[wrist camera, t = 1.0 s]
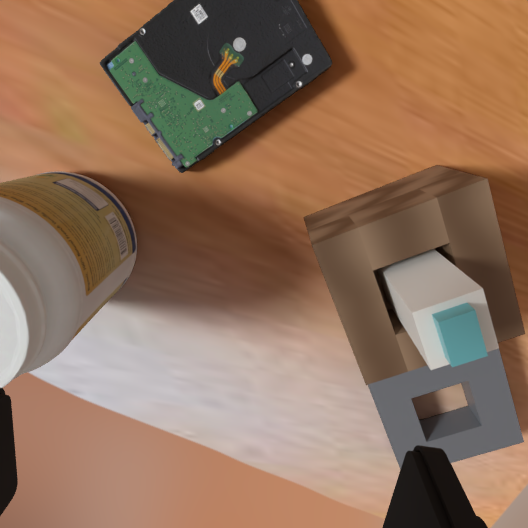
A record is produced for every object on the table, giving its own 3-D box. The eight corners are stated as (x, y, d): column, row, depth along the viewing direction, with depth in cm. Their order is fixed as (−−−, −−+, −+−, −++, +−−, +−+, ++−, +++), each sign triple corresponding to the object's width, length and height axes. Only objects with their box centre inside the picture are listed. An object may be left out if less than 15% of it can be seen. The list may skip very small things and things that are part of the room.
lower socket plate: (480, 323, 40) (496, 339, 37) (507, 421, 44) (523, 442, 41) (360, 363, 42) (366, 381, 39) (395, 454, 45) (403, 476, 42)
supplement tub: (19, 150, 36) (-187, 172, 20) (155, 195, 37) (63, 251, 21) (1, 276, 40) (-184, 380, 24) (125, 314, 41) (27, 439, 25)
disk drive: (257, -57, 31) (108, 67, 34) (256, -74, 29) (95, 62, 32) (331, 67, 34) (186, 173, 37) (336, 62, 31) (180, 177, 34)
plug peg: (422, 240, 33) (491, 295, 22) (436, 284, 34) (508, 357, 23) (373, 258, 33) (417, 320, 23) (388, 301, 34) (436, 380, 24)
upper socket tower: (436, 165, 36) (487, 178, 27) (470, 287, 39) (525, 333, 30) (303, 217, 37) (311, 245, 29) (347, 330, 41) (366, 385, 32)
